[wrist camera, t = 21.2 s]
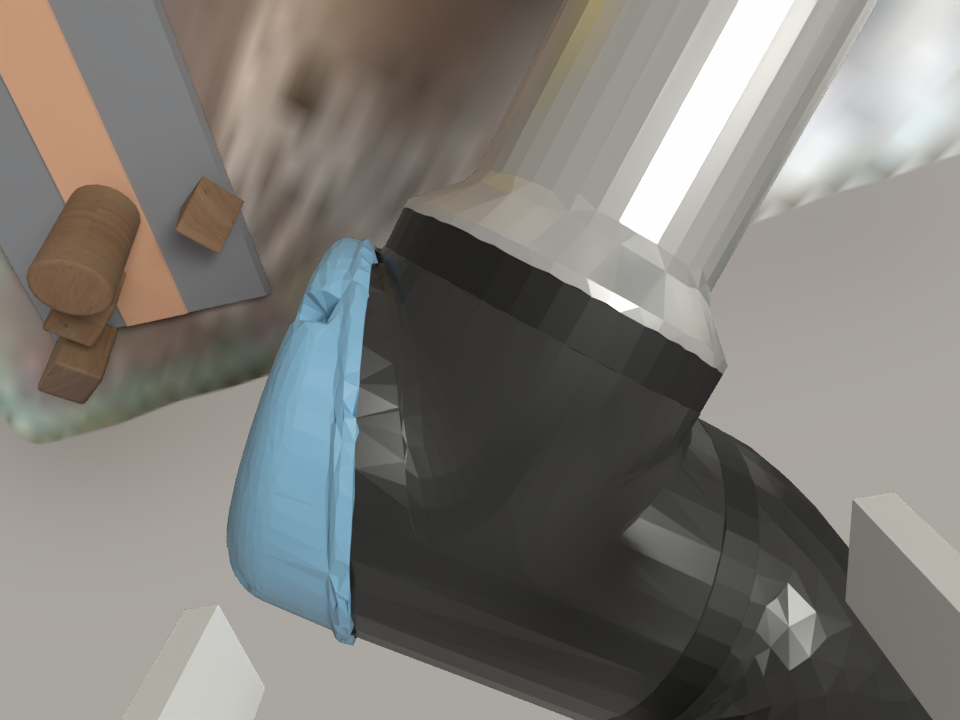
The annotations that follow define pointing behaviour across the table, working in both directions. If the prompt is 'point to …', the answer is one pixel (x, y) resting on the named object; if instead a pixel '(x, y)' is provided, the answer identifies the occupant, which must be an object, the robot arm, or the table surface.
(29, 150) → the board
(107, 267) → the wooden block set
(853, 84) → the table surface
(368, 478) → the robot arm
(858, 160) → the table surface
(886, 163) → the table surface
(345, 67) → the table surface
